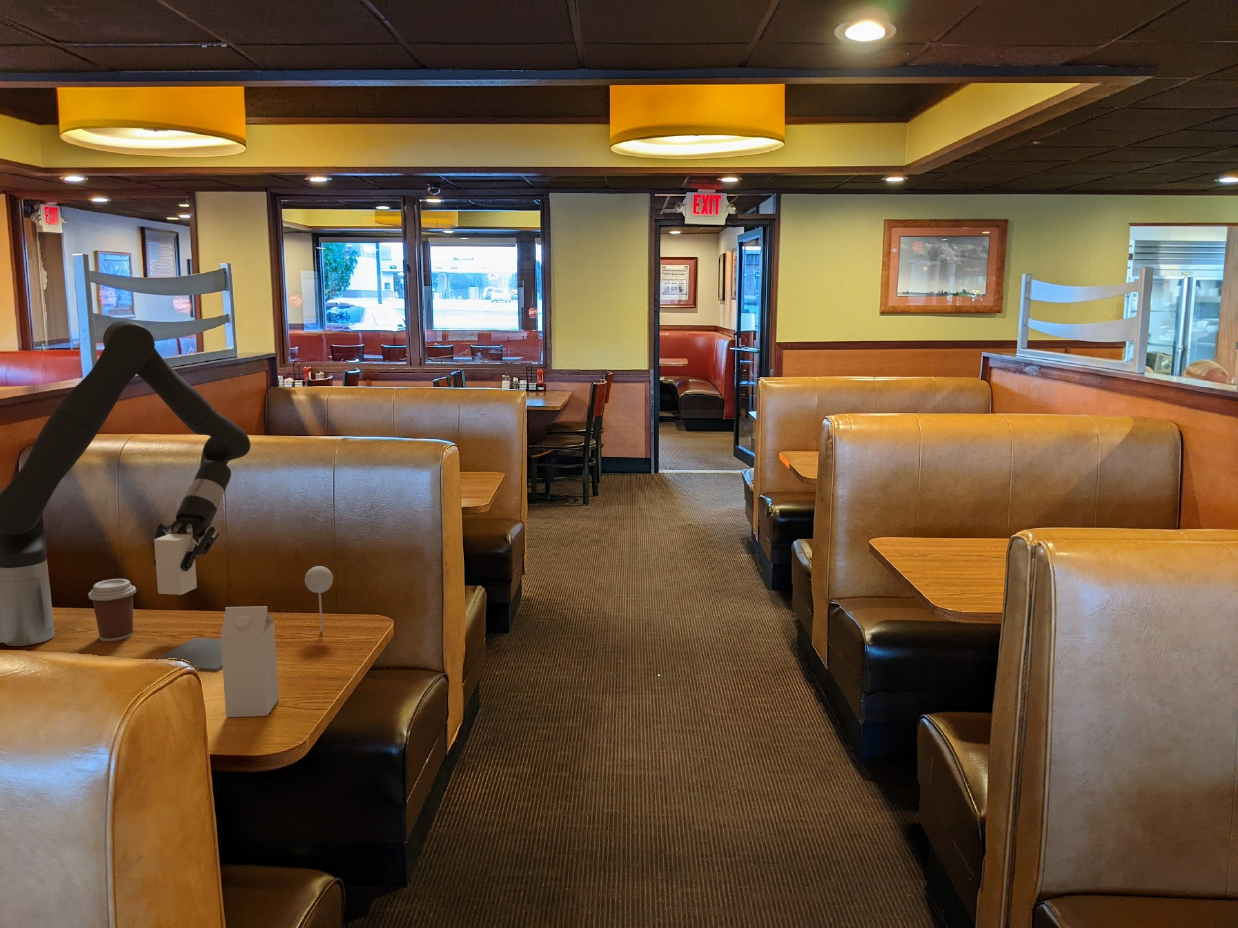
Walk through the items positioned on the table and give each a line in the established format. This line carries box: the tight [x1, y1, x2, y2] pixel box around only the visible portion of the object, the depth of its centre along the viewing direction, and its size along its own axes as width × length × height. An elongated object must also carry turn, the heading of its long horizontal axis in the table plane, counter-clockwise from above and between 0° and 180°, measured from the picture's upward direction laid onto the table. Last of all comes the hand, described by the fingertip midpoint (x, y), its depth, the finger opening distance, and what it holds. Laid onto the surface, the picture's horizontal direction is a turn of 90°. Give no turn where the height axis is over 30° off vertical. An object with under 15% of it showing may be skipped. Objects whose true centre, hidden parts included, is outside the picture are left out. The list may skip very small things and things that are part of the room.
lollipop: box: [304, 565, 334, 633], centre depth 200 cm, size 6×6×15 cm
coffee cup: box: [87, 578, 137, 642], centre depth 198 cm, size 9×9×12 cm
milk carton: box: [219, 605, 280, 718], centre depth 161 cm, size 7×7×19 cm
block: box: [153, 533, 198, 596], centre depth 198 cm, size 6×6×12 cm
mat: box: [157, 637, 223, 672], centre depth 188 cm, size 15×15×1 cm
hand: (170, 568), depth 196 cm, fingers closed on block, 5 cm apart
